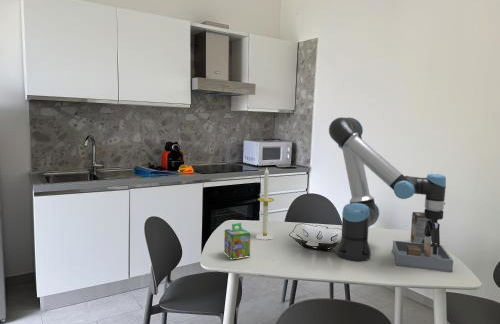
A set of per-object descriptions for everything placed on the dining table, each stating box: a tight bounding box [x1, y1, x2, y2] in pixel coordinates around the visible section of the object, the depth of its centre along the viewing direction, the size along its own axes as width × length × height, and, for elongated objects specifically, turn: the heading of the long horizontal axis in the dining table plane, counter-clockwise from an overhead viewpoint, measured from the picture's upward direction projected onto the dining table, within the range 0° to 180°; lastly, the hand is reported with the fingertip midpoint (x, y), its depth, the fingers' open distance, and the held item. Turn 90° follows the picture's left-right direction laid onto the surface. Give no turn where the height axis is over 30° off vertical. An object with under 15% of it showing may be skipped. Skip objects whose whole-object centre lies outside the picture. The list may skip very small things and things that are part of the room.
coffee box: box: [409, 211, 427, 244], centre depth 187 cm, size 9×6×16 cm
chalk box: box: [223, 222, 251, 259], centre depth 167 cm, size 9×9×15 cm
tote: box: [391, 240, 454, 273], centre depth 167 cm, size 22×20×5 cm
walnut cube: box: [407, 245, 421, 256], centre depth 167 cm, size 5×5×5 cm
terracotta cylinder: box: [425, 242, 432, 257], centre depth 165 cm, size 5×5×7 cm
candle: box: [257, 167, 275, 236], centre depth 193 cm, size 10×10×38 cm
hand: (430, 255), depth 166 cm, fingers open, 13 cm apart
